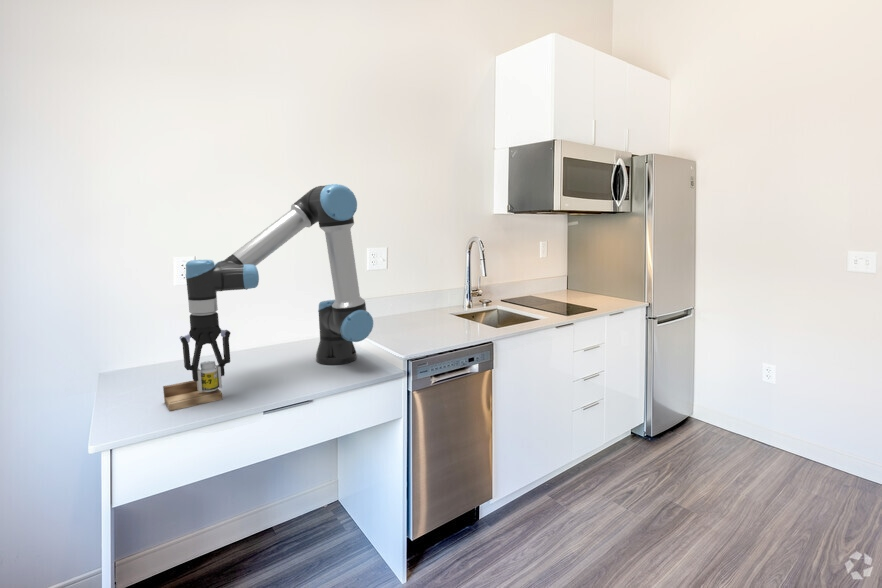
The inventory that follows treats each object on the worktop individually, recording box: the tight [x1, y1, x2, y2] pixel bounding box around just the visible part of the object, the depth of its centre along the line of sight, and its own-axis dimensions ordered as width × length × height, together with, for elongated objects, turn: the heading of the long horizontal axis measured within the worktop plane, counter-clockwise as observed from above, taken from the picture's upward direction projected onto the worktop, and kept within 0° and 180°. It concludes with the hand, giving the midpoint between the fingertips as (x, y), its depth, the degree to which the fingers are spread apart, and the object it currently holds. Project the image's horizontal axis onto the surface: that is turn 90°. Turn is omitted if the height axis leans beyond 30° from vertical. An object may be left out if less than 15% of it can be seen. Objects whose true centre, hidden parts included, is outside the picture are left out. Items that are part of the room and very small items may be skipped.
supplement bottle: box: [199, 360, 219, 392], centre depth 142 cm, size 5×5×8 cm
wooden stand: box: [162, 379, 224, 412], centre depth 141 cm, size 14×8×5 cm, turn 129°
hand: (209, 388), depth 143 cm, fingers closed on supplement bottle, 5 cm apart
